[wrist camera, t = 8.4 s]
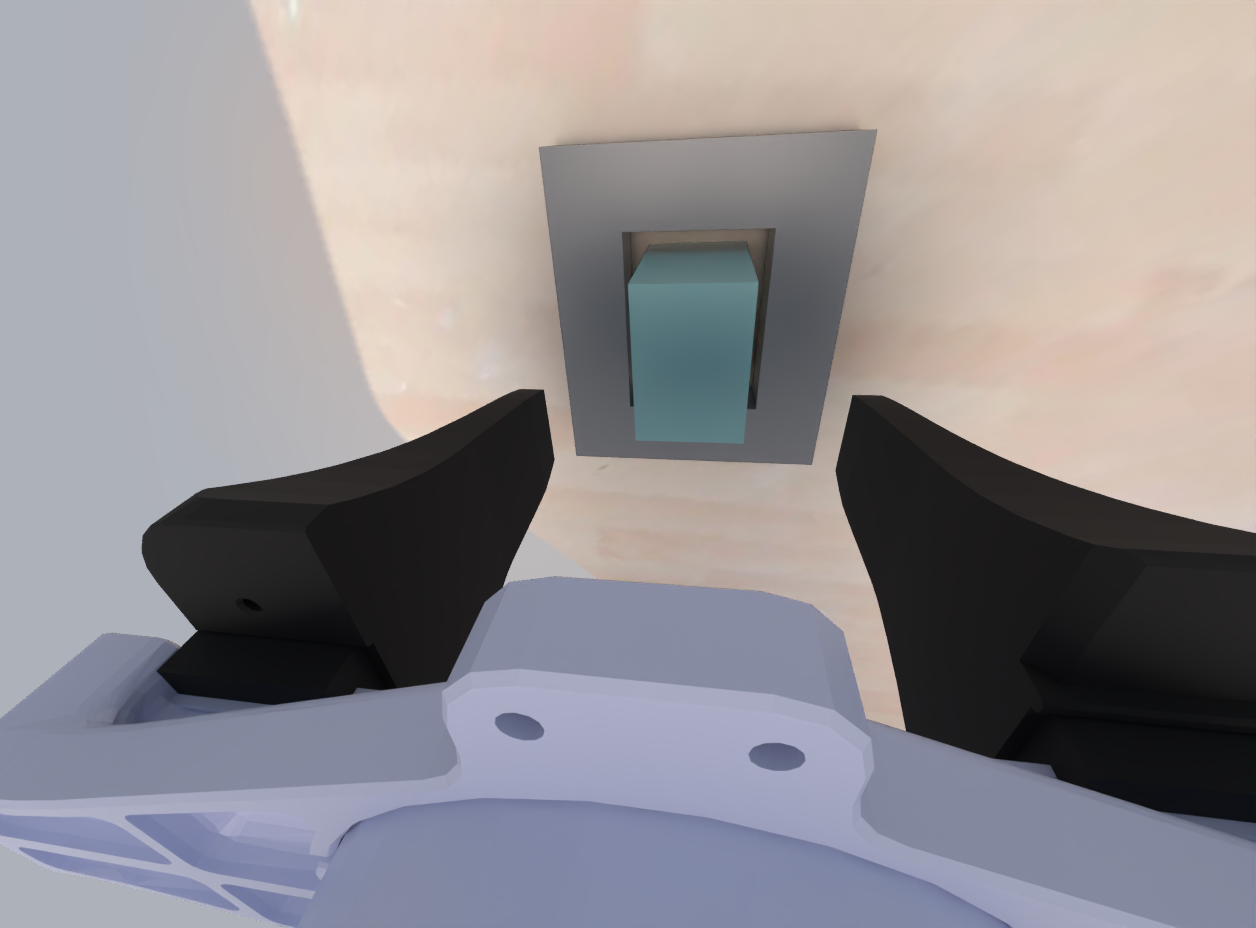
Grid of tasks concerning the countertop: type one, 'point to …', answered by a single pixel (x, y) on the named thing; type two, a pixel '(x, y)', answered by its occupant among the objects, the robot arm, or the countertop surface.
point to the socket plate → (706, 200)
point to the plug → (692, 341)
